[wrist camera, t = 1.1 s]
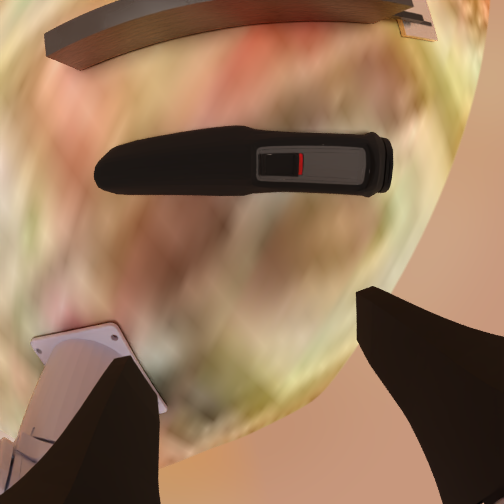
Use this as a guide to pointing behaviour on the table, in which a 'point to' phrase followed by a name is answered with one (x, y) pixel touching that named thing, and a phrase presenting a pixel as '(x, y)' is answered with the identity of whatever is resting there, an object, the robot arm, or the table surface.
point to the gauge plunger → (195, 22)
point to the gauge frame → (419, 29)
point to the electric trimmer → (248, 163)
